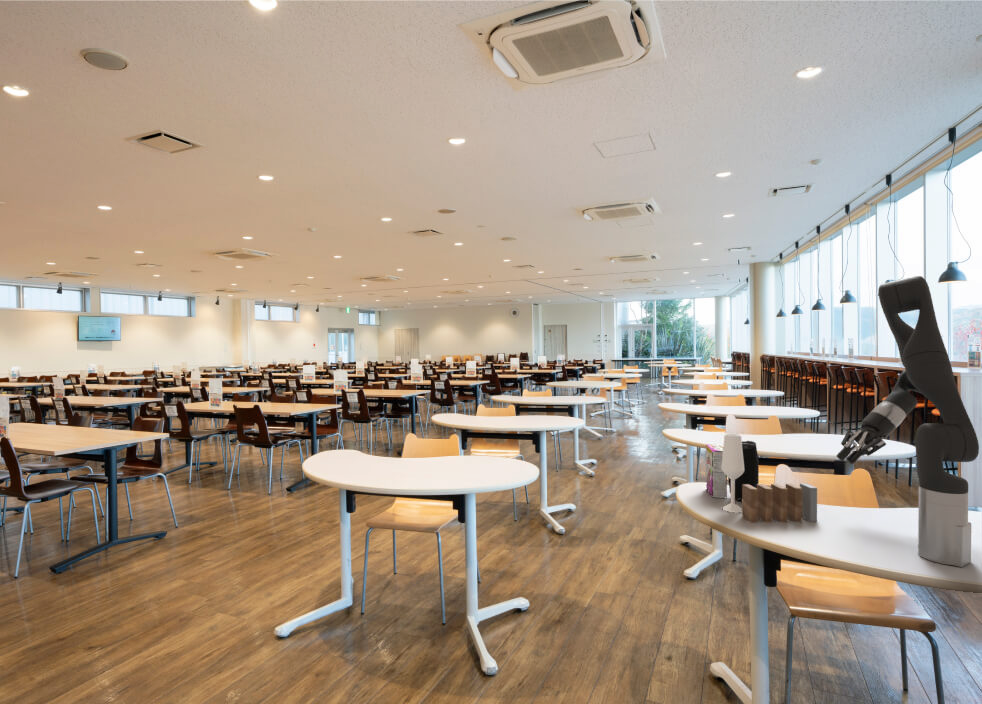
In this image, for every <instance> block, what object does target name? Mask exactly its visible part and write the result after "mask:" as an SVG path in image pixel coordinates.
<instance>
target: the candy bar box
mask: <svg viewBox="0 0 982 704" xmlns="http://www.w3.org/2000/svg"><path fill="white" fill-rule="evenodd" d="M722 456H723V446H721V445H720V444H705V467H706V468H705V473H706V475H705V479H706V480H705V482H706V483H707V484H706V488H707V489H708V490H709V491H708V490H707V489H706V490H707V491H708V493H709V492H710V493H711V494H710V493H709V494H710V495H712V496H713V497H726V498H725V499H728V488H727V487H728V485H727V484H728V482H727V481H728V477H727V476H726V475H725V474H724V472H723V471H722V469H721V466H722ZM712 496H711V497H712ZM713 497H712V498H713Z"/></svg>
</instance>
